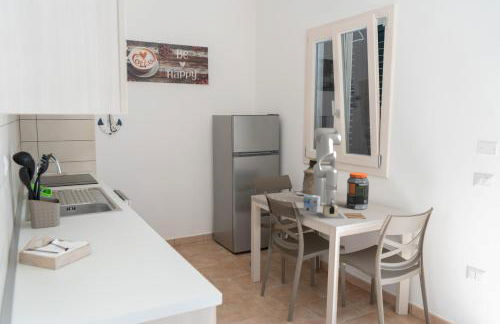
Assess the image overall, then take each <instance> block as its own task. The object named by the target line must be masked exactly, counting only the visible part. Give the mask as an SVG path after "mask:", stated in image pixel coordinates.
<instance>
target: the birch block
mask: <svg viewBox="0 0 500 324" xmlns="http://www.w3.org/2000/svg"><path fill="white" fill-rule="evenodd" d="M334 207H335V209H334V214H329V211H330V205H327V204H326V205H322V213H323V216H324V217H338V213H339V212H338V211H339V207H338V205H337V204H335V205H334Z"/></svg>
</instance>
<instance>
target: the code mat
mask: <svg viewBox="0 0 500 324" xmlns="http://www.w3.org/2000/svg"><path fill="white" fill-rule="evenodd" d="M315 214H316V215H317V217H318V219H339V220H340V219H342V220H343V219H346V218H345V217H344V216H343V215H342V214H341V213H340V212H338V217H324V216H323V212H315Z"/></svg>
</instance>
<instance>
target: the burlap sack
mask: <svg viewBox="0 0 500 324" xmlns="http://www.w3.org/2000/svg"><path fill="white" fill-rule="evenodd" d="M315 164H317V160H316V158H311V157H309V162H308V167H307V168H306V169H304V170H303V173H304V175H303V180H302V189H301V190H298V191H296V192H295V195H296V196H298V195H300V196H305V195H307V194H308V195H314V171H313V167H314V165H315Z"/></svg>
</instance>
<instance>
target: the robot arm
mask: <svg viewBox="0 0 500 324" xmlns="http://www.w3.org/2000/svg"><path fill="white" fill-rule="evenodd" d="M313 135H314V139H315V147H316V149H315V159H316V160H317V164H315V165H314V167H313V171H314V195H316V196H320V206H323V205H330V211H329V214H334V209H335V207H334V205H336V191H337V190H338V189H337V188H338V170H337V161H338V154H337V153H338V152H337V151H336V150H335V149H334V146H341V144H342V136H341V133H340V131H339V130H338V129H337V128H335V127H318V128H315V129H314V131H313Z"/></svg>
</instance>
